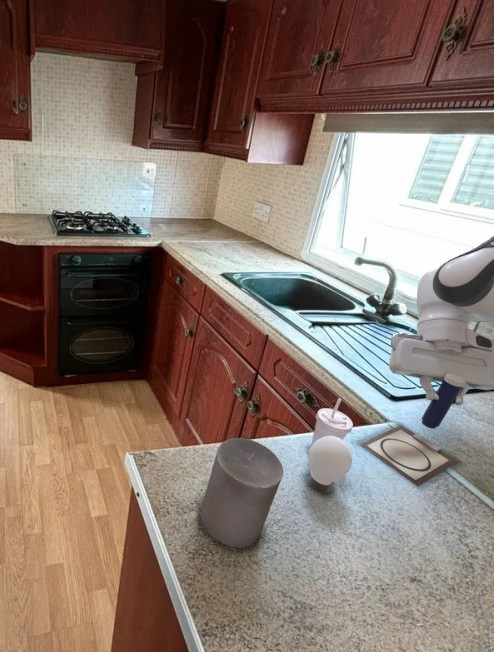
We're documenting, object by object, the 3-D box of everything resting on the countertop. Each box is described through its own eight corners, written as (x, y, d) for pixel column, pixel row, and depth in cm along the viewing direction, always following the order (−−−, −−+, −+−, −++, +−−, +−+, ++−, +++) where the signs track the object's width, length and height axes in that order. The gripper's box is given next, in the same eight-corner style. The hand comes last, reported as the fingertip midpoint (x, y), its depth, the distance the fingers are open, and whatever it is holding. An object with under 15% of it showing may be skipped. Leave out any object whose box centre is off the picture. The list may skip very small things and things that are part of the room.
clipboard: (457, 463, 84) (460, 459, 84) (416, 488, 77) (419, 484, 76) (400, 426, 93) (401, 423, 93) (358, 445, 86) (360, 441, 85)
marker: (440, 427, 86) (469, 380, 81) (432, 431, 85) (461, 384, 79) (424, 418, 89) (450, 372, 83) (416, 421, 87) (442, 375, 82)
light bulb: (344, 501, 72) (367, 455, 67) (308, 500, 71) (329, 453, 67) (325, 471, 78) (345, 427, 73) (292, 470, 77) (310, 426, 73)
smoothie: (304, 439, 86) (326, 386, 79) (337, 453, 83) (362, 398, 77) (300, 458, 81) (322, 402, 74) (334, 473, 78) (361, 416, 72)
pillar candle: (238, 492, 71) (260, 427, 65) (272, 543, 63) (301, 474, 56) (189, 502, 68) (206, 435, 62) (218, 557, 60) (241, 485, 53)
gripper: (399, 326, 86) (399, 389, 82) (505, 343, 83) (511, 410, 79) (383, 335, 92) (382, 394, 88) (481, 351, 89) (486, 414, 85)
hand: (444, 402), depth 83 cm, fingers closed on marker, 3 cm apart
